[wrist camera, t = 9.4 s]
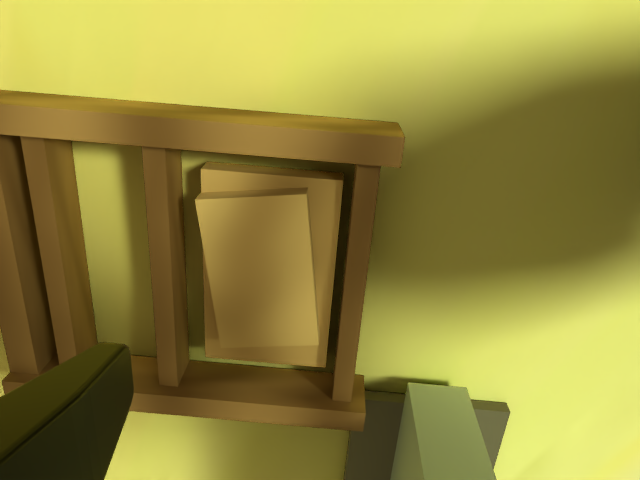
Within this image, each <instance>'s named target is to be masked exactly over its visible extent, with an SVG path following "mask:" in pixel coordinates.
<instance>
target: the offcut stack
mask: <svg viewBox="0 0 640 480" xmlns="http://www.w3.org/2000/svg"><path fill="white" fill-rule="evenodd" d="M342 189H343V173H339V172H327V171H315V170H303V169H291V168H279V167H267V166H255V165H243V164H231V163H219V162H207V163H206V164H205V165H204V166H203V167H202V168H201V193H200V194H199V195H198V196H197V198H196V199H195V204H196V210H197V215H198V221H199V227H200V232H201V238H202V244H203V283H204V324H205V357H210V358H222V359H233V360H245V361H256V362H268V363H279V364H290V365H302V366H313V367H326V356H327V346H328V335H329V325H330V314H331V304H332V294H333V283H334V273H335V262H336V252H337V241H338V231H339V220H340V210H341V200H342Z"/></svg>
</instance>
